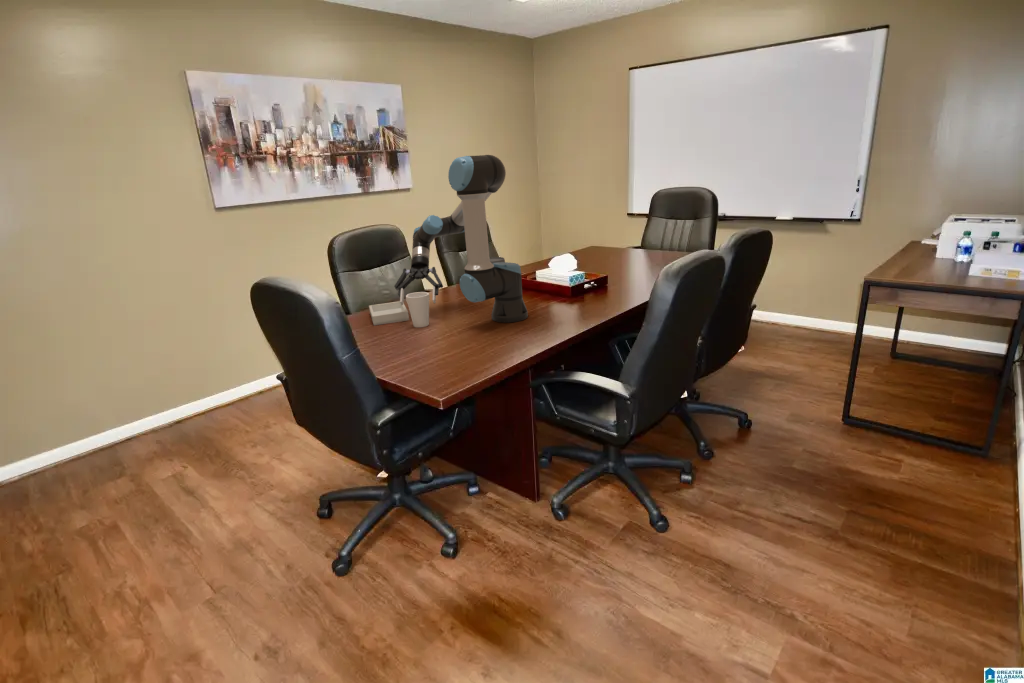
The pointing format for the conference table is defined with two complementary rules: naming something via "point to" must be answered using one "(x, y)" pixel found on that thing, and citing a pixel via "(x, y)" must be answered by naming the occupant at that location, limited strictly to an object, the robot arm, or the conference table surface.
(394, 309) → the grey tray
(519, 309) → the robot arm
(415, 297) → the foam cup
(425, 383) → the conference table surface
